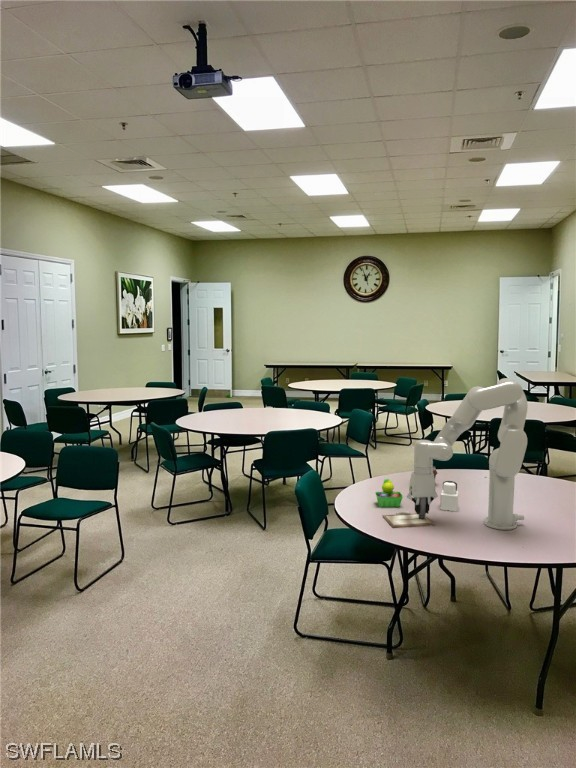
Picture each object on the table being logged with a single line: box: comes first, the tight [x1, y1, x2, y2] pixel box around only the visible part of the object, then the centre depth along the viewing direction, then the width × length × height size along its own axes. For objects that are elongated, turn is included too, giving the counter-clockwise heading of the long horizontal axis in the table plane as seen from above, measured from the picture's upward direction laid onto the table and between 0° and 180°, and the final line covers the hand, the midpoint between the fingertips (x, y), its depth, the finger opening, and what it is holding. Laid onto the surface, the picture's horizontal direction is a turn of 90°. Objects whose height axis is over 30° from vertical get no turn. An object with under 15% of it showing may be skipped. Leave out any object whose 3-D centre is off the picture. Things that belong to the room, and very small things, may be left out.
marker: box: [419, 497, 427, 519], centre depth 235 cm, size 3×3×12 cm
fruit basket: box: [375, 478, 404, 508], centre depth 255 cm, size 11×9×11 cm
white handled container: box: [440, 480, 459, 512], centre depth 250 cm, size 7×7×12 cm
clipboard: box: [382, 511, 436, 529], centre depth 235 cm, size 18×13×2 cm
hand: (421, 512), depth 236 cm, fingers closed on marker, 3 cm apart
